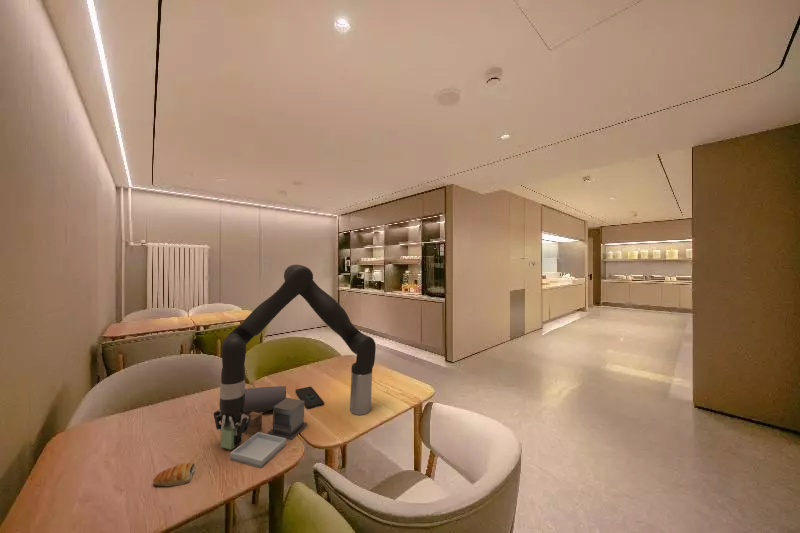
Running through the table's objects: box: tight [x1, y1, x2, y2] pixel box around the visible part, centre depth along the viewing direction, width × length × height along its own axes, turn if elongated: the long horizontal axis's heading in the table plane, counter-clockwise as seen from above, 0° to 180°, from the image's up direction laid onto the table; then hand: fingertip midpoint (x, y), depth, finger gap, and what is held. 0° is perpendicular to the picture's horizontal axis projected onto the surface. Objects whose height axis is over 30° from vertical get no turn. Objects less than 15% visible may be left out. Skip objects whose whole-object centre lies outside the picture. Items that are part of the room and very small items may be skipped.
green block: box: [220, 423, 243, 450], centre depth 98 cm, size 4×4×6 cm
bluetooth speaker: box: [243, 385, 287, 415], centre depth 121 cm, size 23×9×10 cm, turn 108°
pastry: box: [152, 461, 196, 487], centre depth 83 cm, size 9×7×4 cm
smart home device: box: [294, 386, 325, 410], centre depth 135 cm, size 8×2×20 cm
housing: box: [267, 397, 308, 441], centre depth 109 cm, size 10×10×10 cm
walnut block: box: [243, 412, 263, 437], centre depth 107 cm, size 4×4×6 cm
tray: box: [229, 431, 287, 469], centre depth 96 cm, size 12×12×2 cm
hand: (231, 442), depth 98 cm, fingers closed on green block, 4 cm apart
